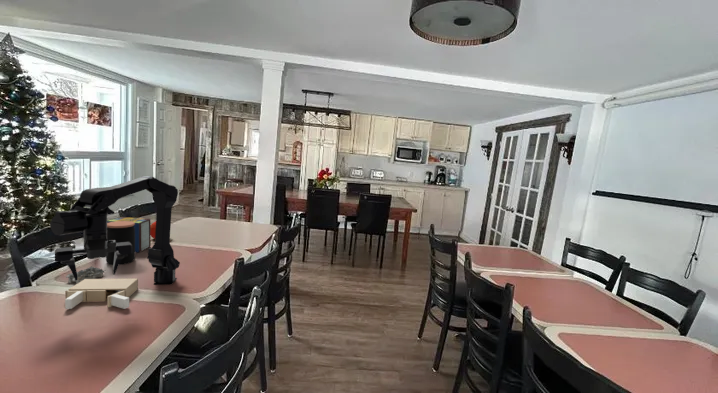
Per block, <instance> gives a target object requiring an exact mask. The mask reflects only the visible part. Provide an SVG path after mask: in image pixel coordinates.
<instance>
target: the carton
mask: <svg viewBox="0 0 718 393" xmlns="http://www.w3.org/2000/svg"><path fill="white" fill-rule="evenodd" d="M82 290H87V291H86V293H87V301H86V302H87V303H92V302H94V303H95V302H107V301H108V300H107V296H110V295H113V294H115V290H126V297H129V298H130V297H131V295H133V294H134V293H135V292H136V291H137V290H139V278H95V279H84V280H83V281H81V282H79V283H78V284H76V283H75V285H73V286H71V287H70V288H68V290H67V291H82Z"/></svg>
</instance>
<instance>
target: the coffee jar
mask: <svg viewBox="0 0 718 393" xmlns="http://www.w3.org/2000/svg"><path fill="white" fill-rule="evenodd" d="M134 225H135V223H134V222H131V221H116V222H109V223H107V240H108V241H109V240H115V242H116V243H120V242H130V243H131V245H132V246H133V253H131V254H128V256H125V257H124V258H123V259H122V260H121V262H120V263H119V266H121V265H127V264H130V263H132V262H134V260H135V258H136V252H135V228H134ZM114 254H115V252H108V256H107V257H105V261H106V263H107V264H108V265H110V266H113V263H114Z"/></svg>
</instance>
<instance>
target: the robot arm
mask: <svg viewBox="0 0 718 393" xmlns="http://www.w3.org/2000/svg"><path fill="white" fill-rule="evenodd" d="M144 190H146V191H147V192H149V193H150V194H152V200H153V203H154V204H155V207H156V217H155V221H156V231H155V239H154V244H153V246H151V247H149V248H147V258H146V259H148V263H149V264H150V265H151V267H152V268H155V271H154V272H153V282H154V283H153V285H154V286H163V285H164V286H168V285H170V286H172V285H173V284H174V283H175V282H176V281H177V279H178V278H177V277H176V270H177V269H178V268H179V267H180V264H181V263H180V261H179V260H178V259H176V258H175V253H174V252H175V251H174V249H173V246H172V245H171V243H170V242H171V241H170V240H171V223H172V209H173V206H174V205H175V204H176V202H177V200H178V196H179V190H178V188H177V187H176V186H175V185H171V184H168V183H166V182H164V181H161V180H159V179H158V178H156V177H155V176H149V175H142V176H140V177H138V178H135V179H132V180H128V181H125V182H122V183H118V184H116V185H112V186H108V187H107V186H106V187H103V186H102V187H94V188H93V187H92V188H86V189H84V190H83V191H81V193H80V195H79V197H78V199H77V200H76V201H75V203H73V205H72V206H71V208H69V210H68V211H67V210H62V211H61V210H60V211H55V215H54V216H53V217H52V218H51V221H50V222H49V226H50V230H51V232H52V233H53V235H55V236H59V237H60V236H65V235H71V234H76V233H82V232H83V248H79V249H73V246H67V247H57V248H56V249H54V262H56V263H57V262H60V264H62V265H63V264H65V265H67V267H68V268H69V270H70V271H71V273H72V274H73V276H74V278H75V280H77V272H78V271H77V267H76V262H75V257H76V256H77V257H79V256H86V257H87V259H89V260H93V259H99V258H101V259H102V258H106V257H107V256H108V252H115V254H114V263H113V265H112V274H113V275H115V276H116V273H117V270H118V268H119V266H120V265H119V263H120V262H121V260H122V259H123V258H124V257H125V256H128V254H131V253H133V246H132V245H131V243H130V242H120V243H116V242H115V240H109V241H108V240H107V221H108V215H114V214H115V213H116V212H115V211H114V210H113V209H111V208H110V207H111V206H112V205H114V204H116V203H117V202H118V200H120V199H122V198H125V197H127V196H130V195H134V194H136V193H139V192H142V191H144Z"/></svg>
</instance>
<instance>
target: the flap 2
mask: <svg viewBox="0 0 718 393" xmlns="http://www.w3.org/2000/svg"><path fill="white" fill-rule="evenodd" d="M106 301H107V308H111V307H117V308H120V309H124V310H125V309H127V308H130V297H126V290H124V291H121V292H118V293H115V294H113V295H110V296H107V300H106Z"/></svg>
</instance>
